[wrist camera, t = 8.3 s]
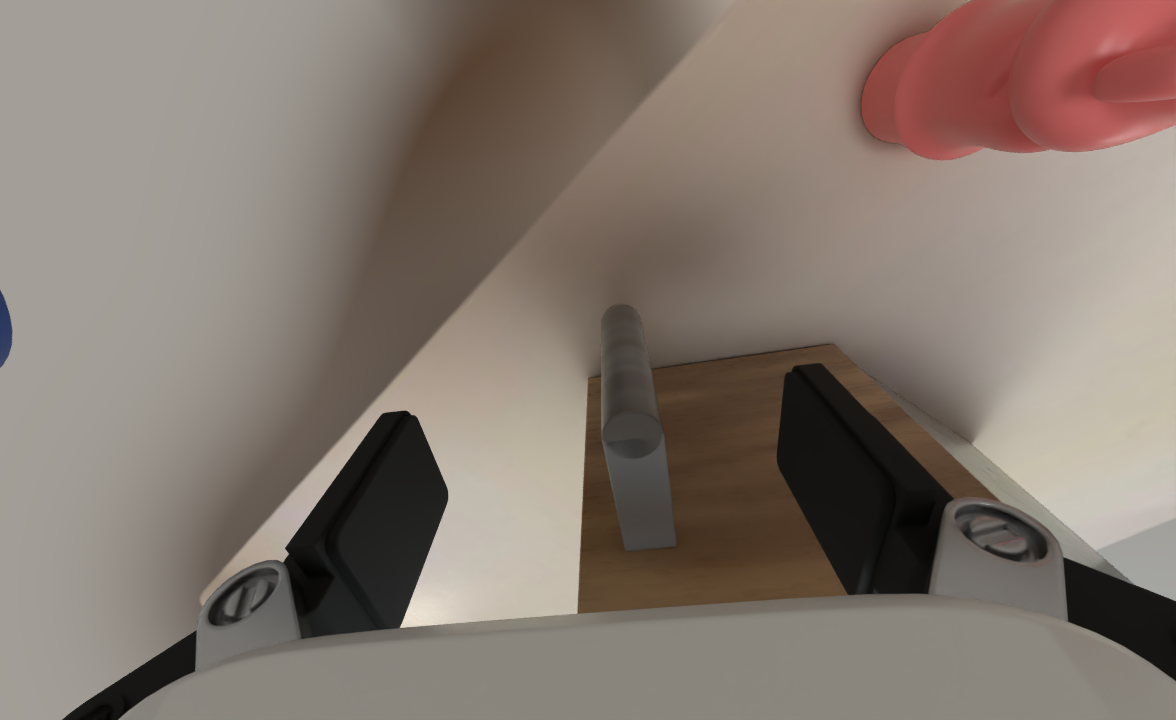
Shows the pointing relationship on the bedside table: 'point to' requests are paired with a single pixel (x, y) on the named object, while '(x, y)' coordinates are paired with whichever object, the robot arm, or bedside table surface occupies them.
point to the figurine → (1028, 78)
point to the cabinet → (1006, 488)
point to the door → (709, 477)
